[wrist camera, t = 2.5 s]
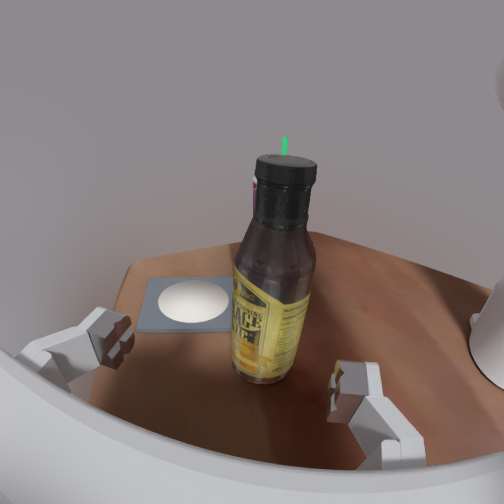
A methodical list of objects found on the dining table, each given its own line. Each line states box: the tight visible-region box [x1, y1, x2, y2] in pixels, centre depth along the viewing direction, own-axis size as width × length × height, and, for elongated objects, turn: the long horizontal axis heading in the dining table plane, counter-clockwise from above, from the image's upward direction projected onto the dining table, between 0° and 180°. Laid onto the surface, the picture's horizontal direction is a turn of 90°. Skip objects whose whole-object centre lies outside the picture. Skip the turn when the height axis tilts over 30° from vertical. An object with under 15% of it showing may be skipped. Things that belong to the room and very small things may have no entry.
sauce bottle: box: [231, 154, 317, 384], centre depth 23 cm, size 6×6×20 cm
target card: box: [136, 276, 233, 333], centre depth 36 cm, size 13×11×1 cm
